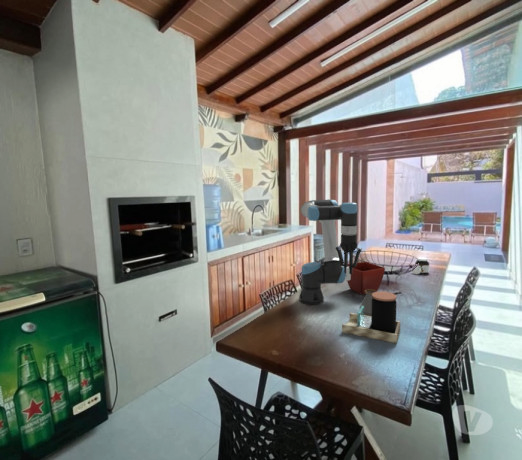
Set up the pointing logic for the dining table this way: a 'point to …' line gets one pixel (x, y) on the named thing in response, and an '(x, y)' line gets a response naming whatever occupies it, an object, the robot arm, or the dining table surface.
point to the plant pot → (366, 277)
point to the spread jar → (421, 266)
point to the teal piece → (363, 319)
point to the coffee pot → (370, 302)
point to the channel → (370, 330)
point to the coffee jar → (384, 312)
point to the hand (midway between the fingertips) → (348, 279)
